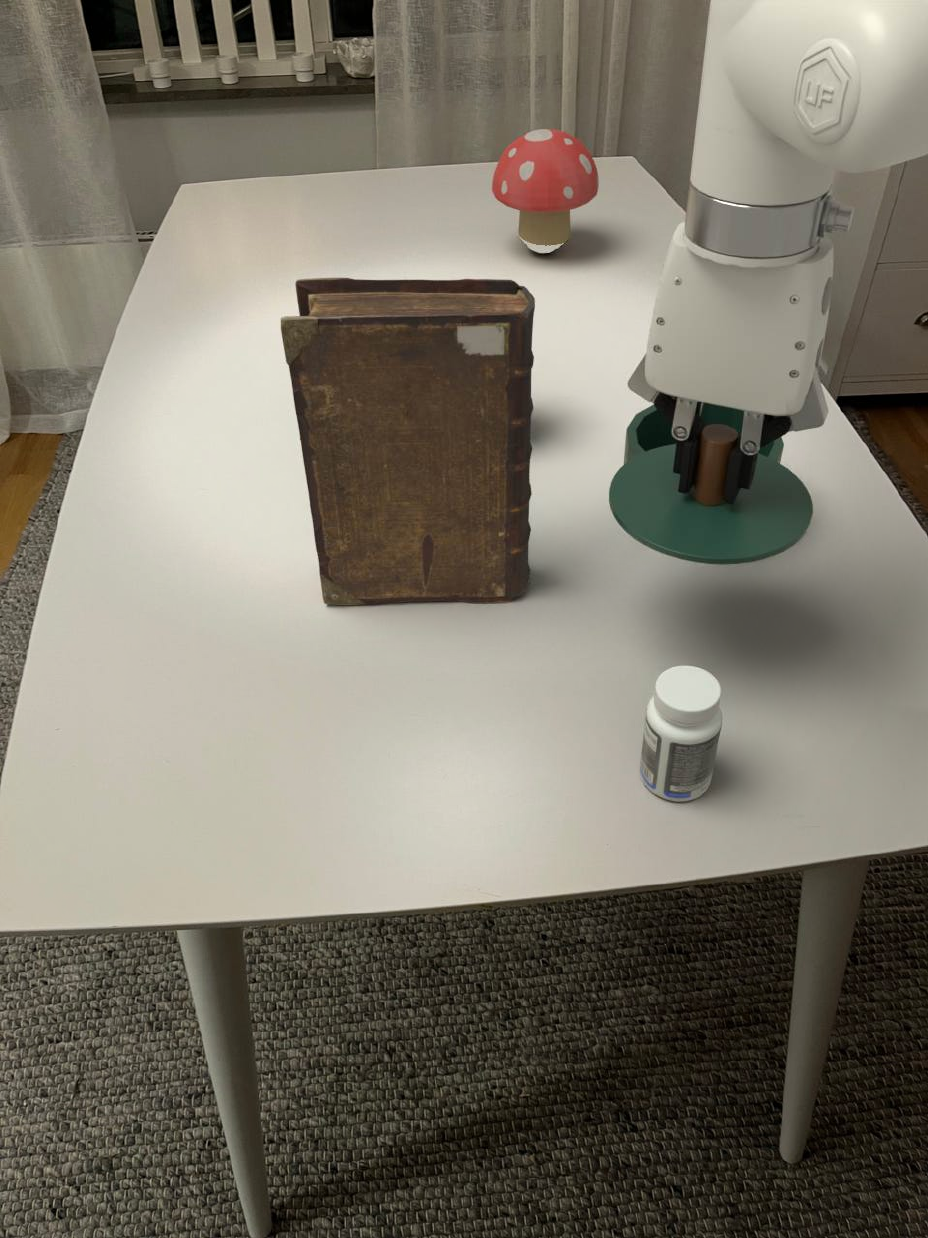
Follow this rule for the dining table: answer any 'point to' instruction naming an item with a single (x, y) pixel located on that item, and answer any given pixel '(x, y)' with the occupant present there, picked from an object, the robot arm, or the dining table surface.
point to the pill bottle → (681, 733)
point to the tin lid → (710, 505)
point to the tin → (656, 432)
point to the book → (415, 435)
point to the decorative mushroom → (545, 183)
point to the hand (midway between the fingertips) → (711, 485)
